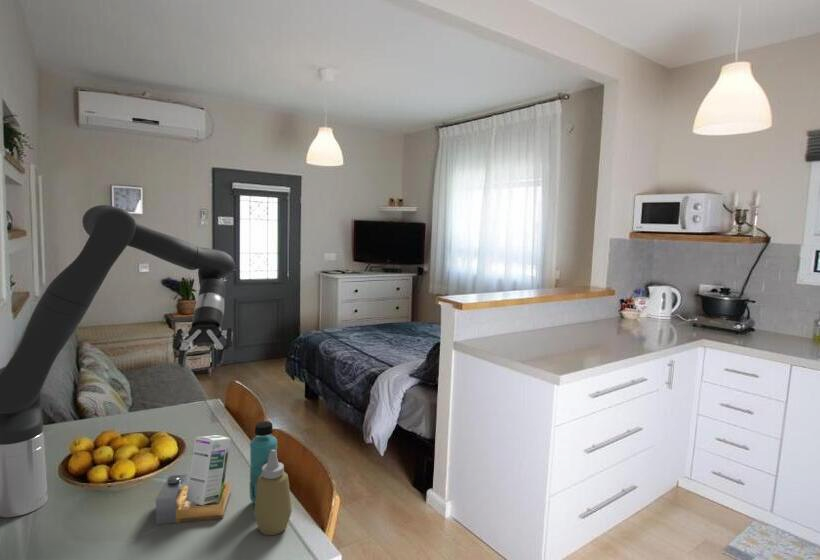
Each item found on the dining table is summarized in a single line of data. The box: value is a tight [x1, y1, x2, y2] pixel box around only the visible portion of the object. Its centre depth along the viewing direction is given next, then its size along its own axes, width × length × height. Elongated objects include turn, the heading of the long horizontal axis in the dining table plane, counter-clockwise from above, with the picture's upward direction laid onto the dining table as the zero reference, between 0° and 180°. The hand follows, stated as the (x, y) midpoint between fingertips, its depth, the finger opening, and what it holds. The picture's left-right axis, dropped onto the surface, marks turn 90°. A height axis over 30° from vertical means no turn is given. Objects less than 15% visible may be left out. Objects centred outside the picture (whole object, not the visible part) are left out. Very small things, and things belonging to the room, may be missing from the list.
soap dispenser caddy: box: [155, 473, 232, 525], centre depth 110 cm, size 14×10×7 cm
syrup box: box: [186, 434, 231, 505], centre depth 112 cm, size 6×6×14 cm
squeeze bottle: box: [253, 450, 293, 536], centre depth 104 cm, size 8×8×18 cm
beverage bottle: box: [249, 420, 278, 504], centre depth 113 cm, size 6×7×20 cm
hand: (199, 365), depth 120 cm, fingers open, 8 cm apart
